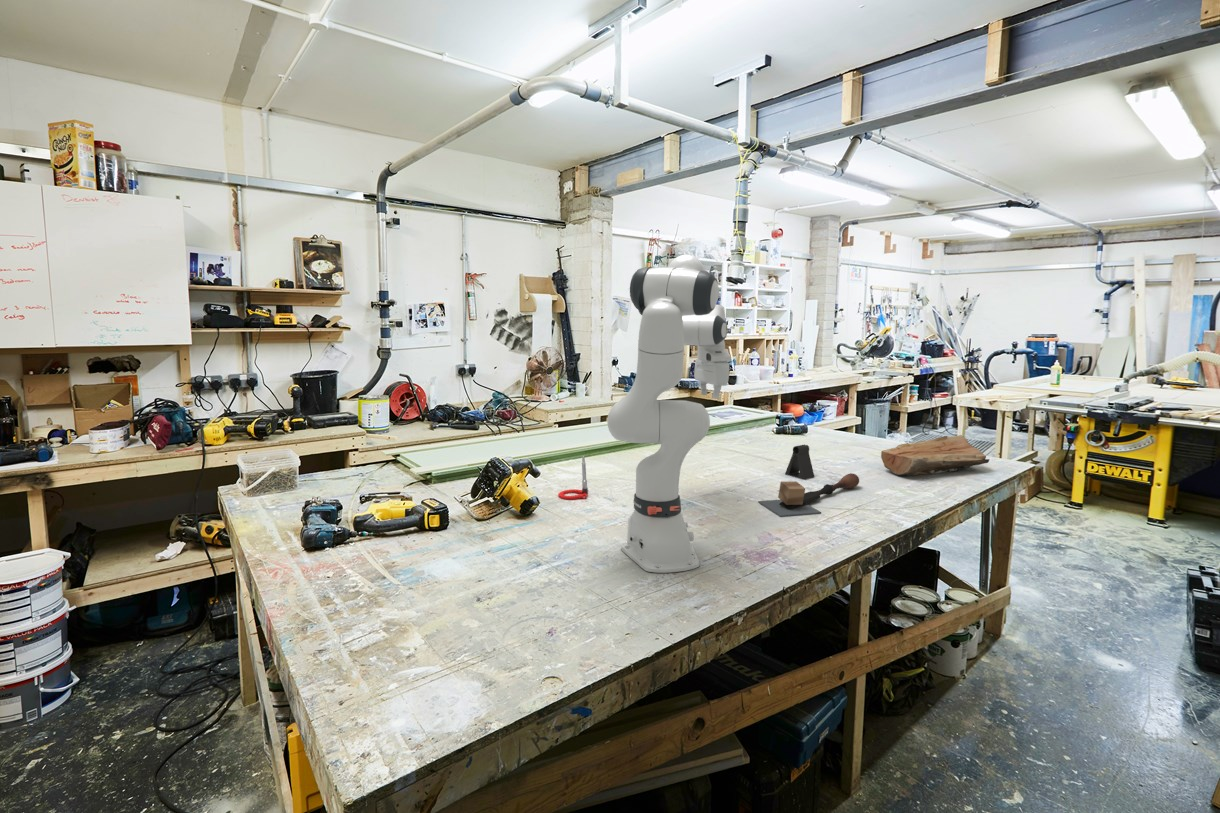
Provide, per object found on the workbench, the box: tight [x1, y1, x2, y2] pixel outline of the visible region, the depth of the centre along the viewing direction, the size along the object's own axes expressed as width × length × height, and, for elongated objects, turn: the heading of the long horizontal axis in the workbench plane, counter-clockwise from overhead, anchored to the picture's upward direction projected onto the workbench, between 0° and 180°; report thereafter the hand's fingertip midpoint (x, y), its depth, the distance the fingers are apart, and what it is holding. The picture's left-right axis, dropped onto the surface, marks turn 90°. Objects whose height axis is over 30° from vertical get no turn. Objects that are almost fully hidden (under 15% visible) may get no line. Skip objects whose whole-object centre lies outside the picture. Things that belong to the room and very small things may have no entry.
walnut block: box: [777, 480, 806, 505], centre depth 179 cm, size 6×6×6 cm
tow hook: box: [558, 455, 589, 500], centre depth 191 cm, size 9×14×10 cm
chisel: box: [779, 472, 860, 509], centre depth 191 cm, size 5×43×5 cm, turn 129°
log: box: [880, 434, 990, 477], centre depth 224 cm, size 42×17×15 cm, turn 107°
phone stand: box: [784, 444, 815, 481], centre depth 217 cm, size 9×6×12 cm, turn 34°
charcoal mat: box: [757, 499, 822, 518], centre depth 180 cm, size 14×14×1 cm
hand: (709, 396), depth 187 cm, fingers open, 8 cm apart
